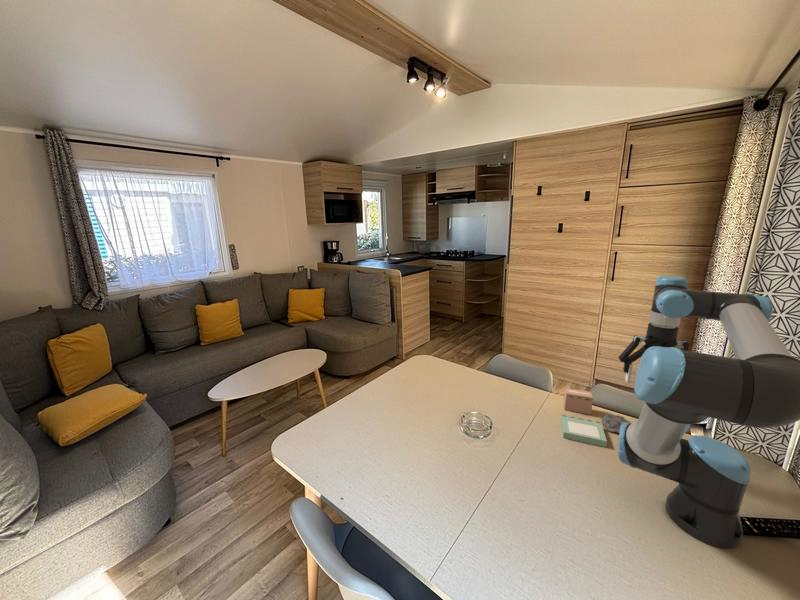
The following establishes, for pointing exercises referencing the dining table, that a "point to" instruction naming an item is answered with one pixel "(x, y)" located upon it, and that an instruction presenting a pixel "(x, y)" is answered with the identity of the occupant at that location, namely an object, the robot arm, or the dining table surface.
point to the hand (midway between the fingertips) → (651, 384)
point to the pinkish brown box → (578, 401)
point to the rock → (613, 422)
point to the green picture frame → (583, 430)
